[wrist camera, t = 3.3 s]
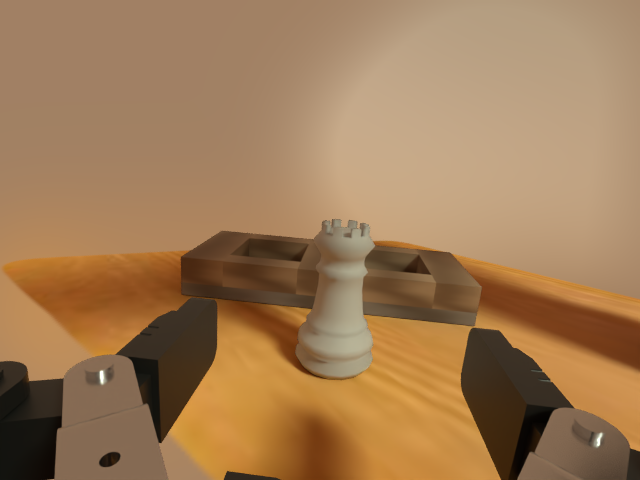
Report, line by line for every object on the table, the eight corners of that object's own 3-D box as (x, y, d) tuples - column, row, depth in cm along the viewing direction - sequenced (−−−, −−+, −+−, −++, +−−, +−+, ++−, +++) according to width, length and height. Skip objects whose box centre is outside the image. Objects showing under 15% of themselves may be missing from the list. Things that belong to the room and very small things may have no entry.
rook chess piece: (290, 341, 23) (297, 214, 21) (358, 338, 24) (372, 217, 22) (300, 386, 19) (311, 233, 17) (383, 381, 20) (403, 235, 18)
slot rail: (445, 282, 36) (450, 252, 35) (474, 326, 27) (482, 287, 26) (221, 260, 37) (222, 230, 36) (181, 294, 29) (180, 257, 28)
